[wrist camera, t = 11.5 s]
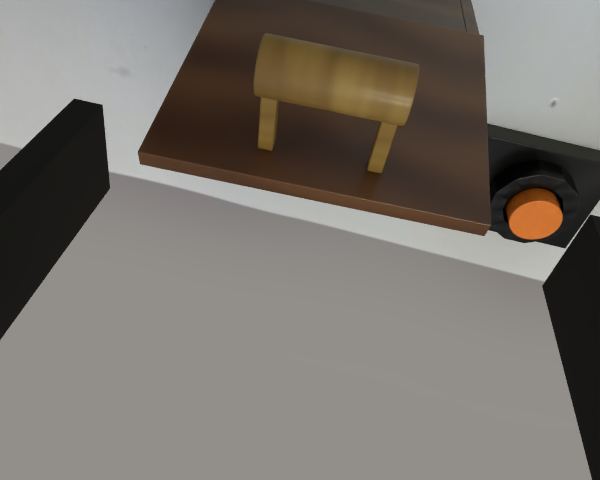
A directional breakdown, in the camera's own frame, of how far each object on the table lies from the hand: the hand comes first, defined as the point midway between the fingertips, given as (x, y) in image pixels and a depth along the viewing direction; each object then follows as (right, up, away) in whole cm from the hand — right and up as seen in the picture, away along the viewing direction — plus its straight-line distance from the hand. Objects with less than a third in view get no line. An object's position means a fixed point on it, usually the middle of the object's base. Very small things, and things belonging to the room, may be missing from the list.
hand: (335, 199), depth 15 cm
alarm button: (+18, +2, +30) cm, 35 cm away
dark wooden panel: (+1, +6, +13) cm, 15 cm away
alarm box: (+19, +4, +32) cm, 38 cm away
